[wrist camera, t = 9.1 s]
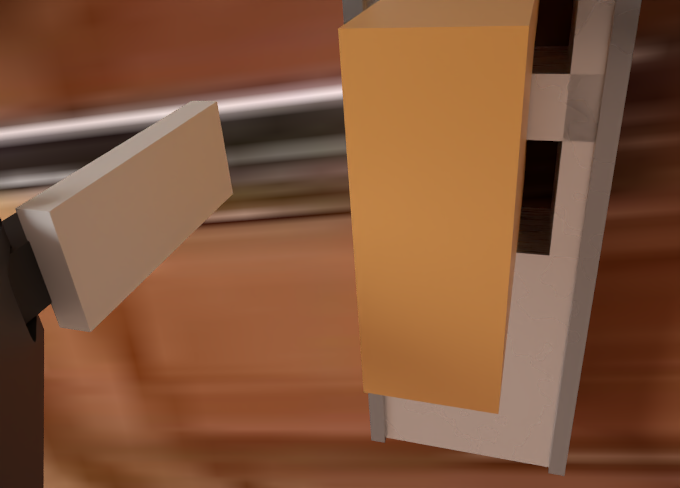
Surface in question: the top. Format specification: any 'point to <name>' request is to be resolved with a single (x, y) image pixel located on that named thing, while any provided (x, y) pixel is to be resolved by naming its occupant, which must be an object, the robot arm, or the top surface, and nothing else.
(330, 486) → the top surface
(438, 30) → the tall orange block
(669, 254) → the top surface
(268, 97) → the top surface
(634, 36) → the rail
